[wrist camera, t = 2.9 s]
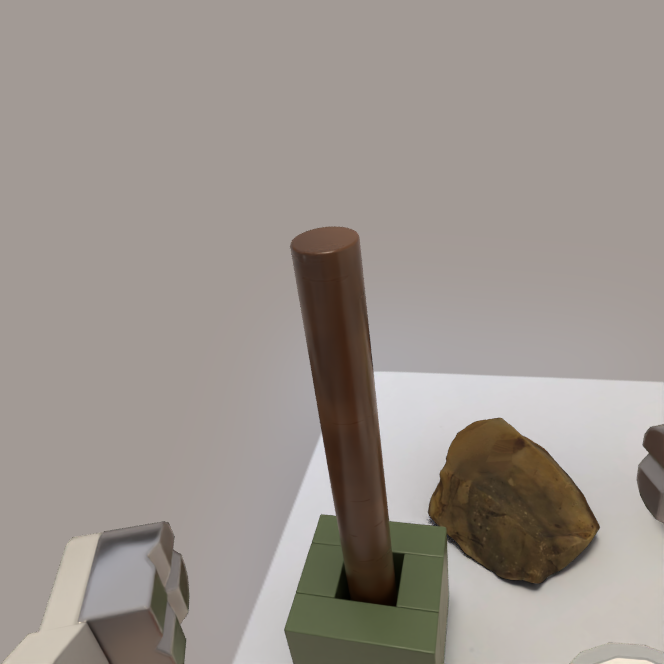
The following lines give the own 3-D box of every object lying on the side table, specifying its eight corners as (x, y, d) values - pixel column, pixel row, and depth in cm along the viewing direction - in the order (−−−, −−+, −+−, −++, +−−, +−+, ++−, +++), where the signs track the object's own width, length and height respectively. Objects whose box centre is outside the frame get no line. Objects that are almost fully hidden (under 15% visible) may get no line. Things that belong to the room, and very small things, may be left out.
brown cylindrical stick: (364, 671, 31) (295, 258, 19) (353, 630, 33) (285, 233, 21) (407, 659, 32) (366, 244, 19) (394, 619, 34) (350, 221, 22)
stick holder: (439, 724, 29) (435, 654, 26) (302, 698, 31) (283, 630, 28) (448, 596, 35) (446, 526, 31) (333, 581, 36) (320, 513, 33)
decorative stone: (625, 525, 37) (633, 485, 36) (523, 610, 33) (527, 570, 31) (497, 441, 45) (499, 404, 43) (403, 501, 41) (400, 463, 39)
